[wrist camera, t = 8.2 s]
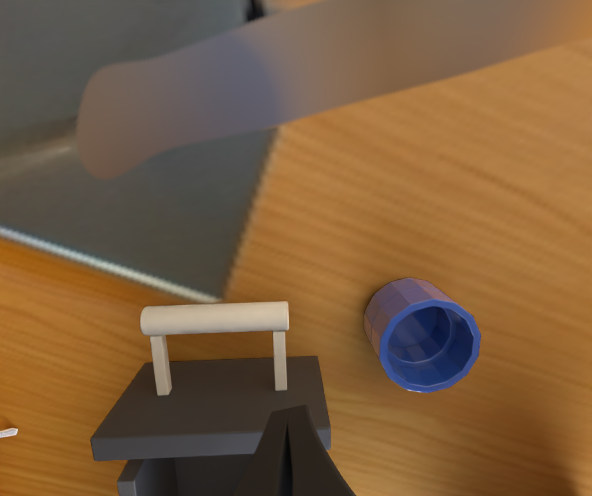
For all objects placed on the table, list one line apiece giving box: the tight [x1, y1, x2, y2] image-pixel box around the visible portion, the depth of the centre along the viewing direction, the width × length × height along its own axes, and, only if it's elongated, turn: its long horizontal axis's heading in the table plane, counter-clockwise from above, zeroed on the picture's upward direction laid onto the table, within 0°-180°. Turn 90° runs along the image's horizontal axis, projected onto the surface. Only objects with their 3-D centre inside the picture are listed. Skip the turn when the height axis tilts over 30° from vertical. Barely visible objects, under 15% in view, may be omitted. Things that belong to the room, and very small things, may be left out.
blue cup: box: [364, 278, 481, 393], centre depth 19 cm, size 5×5×4 cm
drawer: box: [90, 301, 331, 496], centre depth 19 cm, size 17×10×6 cm, turn 1°
